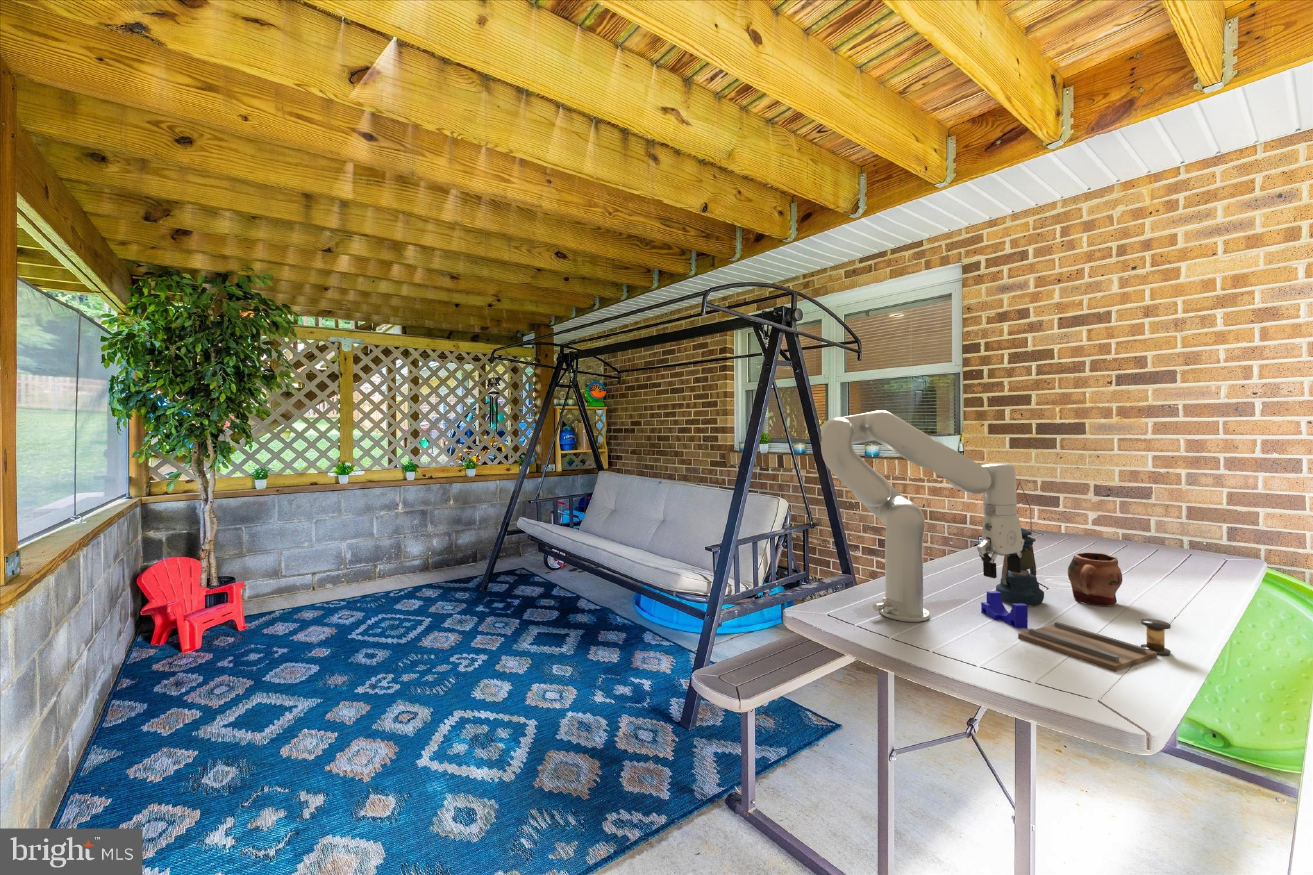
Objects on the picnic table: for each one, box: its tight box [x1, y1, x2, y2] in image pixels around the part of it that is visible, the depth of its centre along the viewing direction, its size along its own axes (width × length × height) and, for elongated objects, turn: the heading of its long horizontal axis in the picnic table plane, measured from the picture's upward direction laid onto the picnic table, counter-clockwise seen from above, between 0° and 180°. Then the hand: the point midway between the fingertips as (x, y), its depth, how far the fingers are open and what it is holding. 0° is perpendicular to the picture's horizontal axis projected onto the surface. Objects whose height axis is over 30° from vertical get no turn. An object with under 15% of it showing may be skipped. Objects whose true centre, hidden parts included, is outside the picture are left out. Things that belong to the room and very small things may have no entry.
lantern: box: [995, 482, 1045, 607], centre depth 159 cm, size 14×12×35 cm
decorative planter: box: [1067, 552, 1123, 607], centre depth 155 cm, size 20×12×14 cm, turn 132°
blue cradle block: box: [980, 590, 1029, 629], centre depth 143 cm, size 12×4×6 cm, turn 1°
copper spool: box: [1140, 618, 1172, 657], centre depth 122 cm, size 5×5×7 cm
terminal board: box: [1017, 621, 1158, 673], centre depth 125 cm, size 16×20×2 cm
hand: (1002, 574), depth 143 cm, fingers open, 9 cm apart
